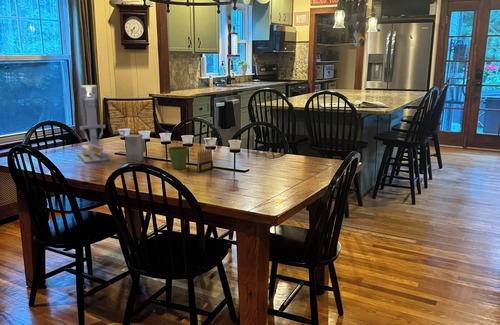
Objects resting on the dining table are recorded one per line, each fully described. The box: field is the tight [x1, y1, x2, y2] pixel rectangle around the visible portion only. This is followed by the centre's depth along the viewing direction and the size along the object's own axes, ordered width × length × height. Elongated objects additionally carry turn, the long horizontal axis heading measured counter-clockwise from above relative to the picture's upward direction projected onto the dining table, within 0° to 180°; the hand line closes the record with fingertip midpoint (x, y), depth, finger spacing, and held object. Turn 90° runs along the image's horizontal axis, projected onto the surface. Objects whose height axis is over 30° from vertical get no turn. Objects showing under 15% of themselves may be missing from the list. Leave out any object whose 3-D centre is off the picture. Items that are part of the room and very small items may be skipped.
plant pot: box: [167, 145, 190, 170], centre depth 250 cm, size 12×12×11 cm
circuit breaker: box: [124, 133, 146, 163], centre depth 272 cm, size 8×14×15 cm, turn 174°
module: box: [87, 143, 104, 156], centre depth 276 cm, size 5×8×4 cm, turn 119°
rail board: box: [77, 144, 111, 165], centre depth 277 cm, size 26×14×6 cm, turn 29°
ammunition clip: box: [196, 147, 214, 174], centre depth 244 cm, size 11×2×12 cm, turn 142°
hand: (93, 140), depth 277 cm, fingers open, 4 cm apart
